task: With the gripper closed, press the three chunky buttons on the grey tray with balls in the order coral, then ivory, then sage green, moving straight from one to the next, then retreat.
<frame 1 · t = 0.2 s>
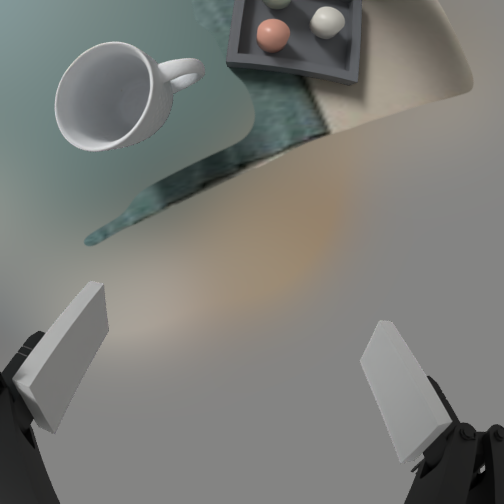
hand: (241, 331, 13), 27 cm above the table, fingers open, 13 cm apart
mug: (151, 101, 33), on the table
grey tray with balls: (295, 28, 29), on the table
button coral: (272, 36, 27), point 4 cm above the table, slide at 0.0 cm
button ivory: (326, 22, 26), point 4 cm above the table, slide at 0.0 cm
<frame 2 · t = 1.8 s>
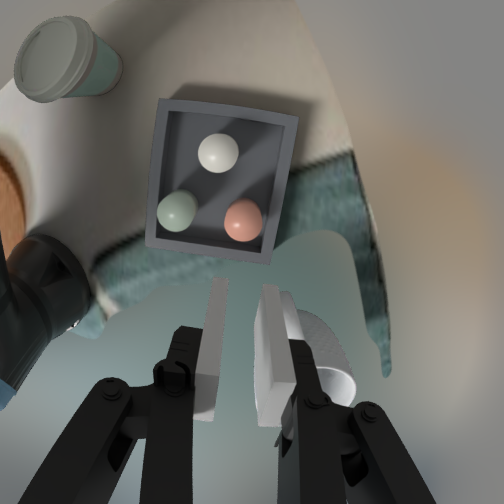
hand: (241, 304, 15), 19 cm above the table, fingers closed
coffee cup: (101, 73, 26), on the table
mug: (290, 322, 39), on the table
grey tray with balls: (218, 178, 32), on the table
button coral: (243, 218, 29), point 4 cm above the table, slide at 0.0 cm
button ivory: (219, 152, 27), point 4 cm above the table, slide at 0.0 cm
button sage: (178, 209, 29), point 4 cm above the table, slide at 0.0 cm
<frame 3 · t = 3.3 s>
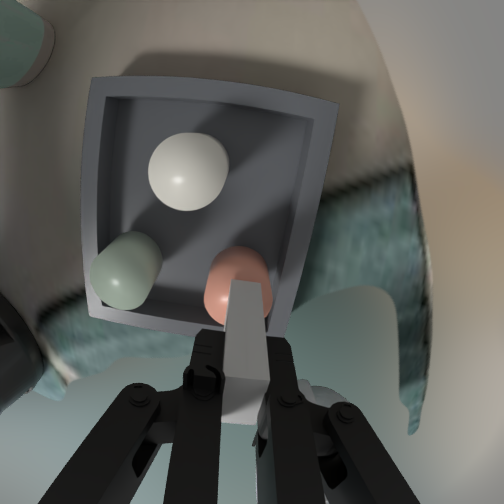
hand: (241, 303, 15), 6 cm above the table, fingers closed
coffee cup: (29, 53, 13), on the table
mug: (304, 397, 27), on the table
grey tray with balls: (196, 209, 19), on the table
button coral: (238, 285, 17), point 4 cm above the table, slide at 0.1 cm, touching gripper
button ivory: (192, 168, 14), point 4 cm above the table, slide at 0.0 cm
button sage: (127, 269, 16), point 4 cm above the table, slide at 0.0 cm
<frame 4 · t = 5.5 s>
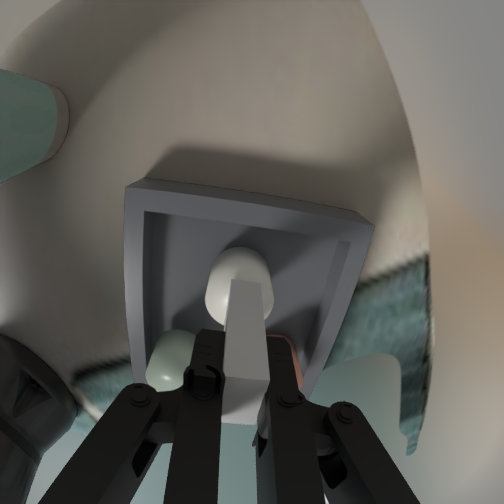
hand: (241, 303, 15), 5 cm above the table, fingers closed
coffee cup: (41, 124, 15), on the table
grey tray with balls: (233, 303, 21), on the table
button coral: (273, 367, 19), point 3 cm above the table, slide at 0.9 cm
button ivory: (239, 286, 17), point 3 cm above the table, slide at 0.8 cm, touching gripper
button sage: (177, 364, 18), point 4 cm above the table, slide at 0.0 cm
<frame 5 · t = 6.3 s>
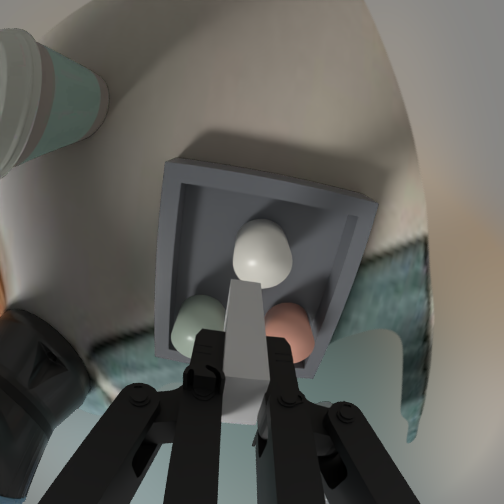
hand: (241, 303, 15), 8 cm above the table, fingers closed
coffee cup: (80, 106, 18), on the table
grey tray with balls: (252, 273, 23), on the table
button coral: (287, 333, 22), point 3 cm above the table, slide at 0.9 cm
button ivory: (261, 252, 19), point 3 cm above the table, slide at 0.9 cm
button sage: (200, 327, 21), point 4 cm above the table, slide at 0.0 cm
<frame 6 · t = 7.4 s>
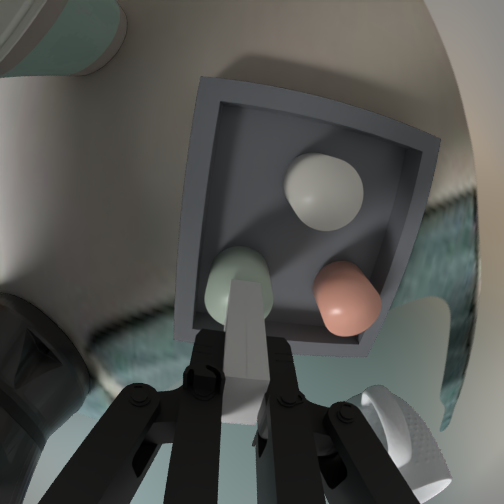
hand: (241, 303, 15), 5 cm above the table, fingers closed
coffee cup: (90, 38, 13), on the table
mug: (362, 401, 27), on the table
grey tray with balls: (297, 227, 19), on the table
button coral: (345, 297, 17), point 3 cm above the table, slide at 0.9 cm
button ivory: (320, 188, 15), point 3 cm above the table, slide at 0.9 cm
button sage: (239, 286, 17), point 3 cm above the table, slide at 0.7 cm, touching gripper
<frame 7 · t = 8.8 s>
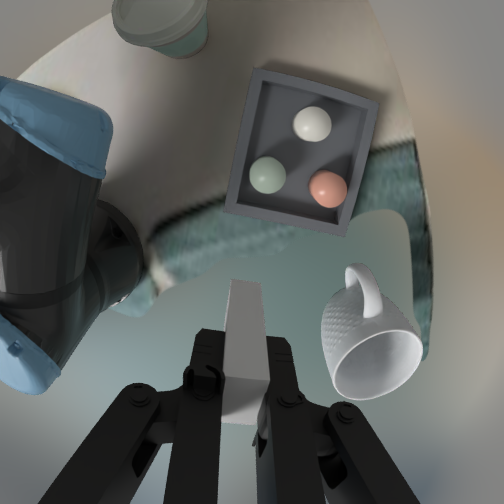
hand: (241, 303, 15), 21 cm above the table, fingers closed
coffee cup: (183, 38, 27), on the table
mug: (348, 299, 40), on the table
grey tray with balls: (299, 151, 32), on the table
button coral: (326, 187, 30), point 3 cm above the table, slide at 0.9 cm
button ivory: (310, 124, 28), point 3 cm above the table, slide at 0.9 cm
button sage: (266, 173, 30), point 3 cm above the table, slide at 0.9 cm
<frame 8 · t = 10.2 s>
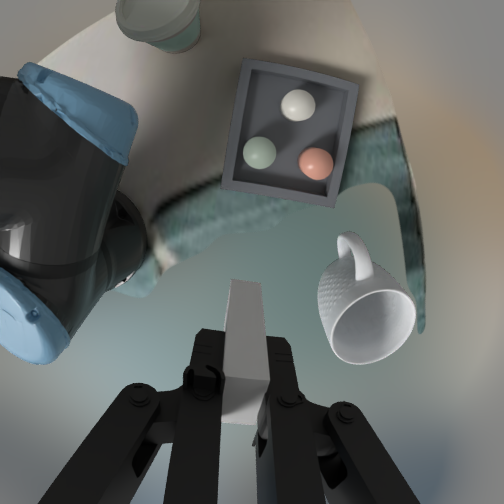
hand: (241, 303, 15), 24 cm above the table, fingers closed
coffee cup: (178, 34, 29), on the table
mug: (342, 270, 42), on the table
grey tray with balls: (288, 132, 34), on the table
button coral: (314, 162, 33), point 3 cm above the table, slide at 0.9 cm
button ivory: (296, 106, 30), point 3 cm above the table, slide at 0.9 cm
button sage: (259, 152, 32), point 3 cm above the table, slide at 0.9 cm
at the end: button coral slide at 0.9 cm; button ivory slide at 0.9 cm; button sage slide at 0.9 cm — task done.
